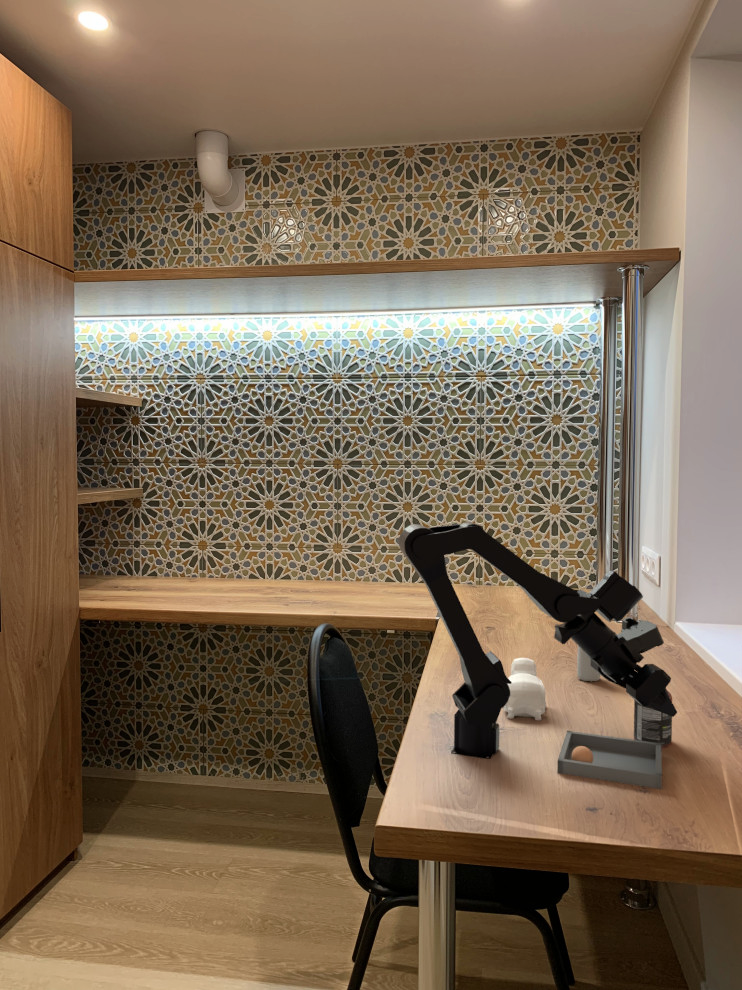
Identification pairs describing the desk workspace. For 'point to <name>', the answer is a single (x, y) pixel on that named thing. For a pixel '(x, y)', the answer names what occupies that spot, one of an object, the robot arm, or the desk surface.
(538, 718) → the white low-poly figurine
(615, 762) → the tray
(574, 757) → the ball
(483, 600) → the desk surface
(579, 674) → the beverage can
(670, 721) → the supplement bottle
